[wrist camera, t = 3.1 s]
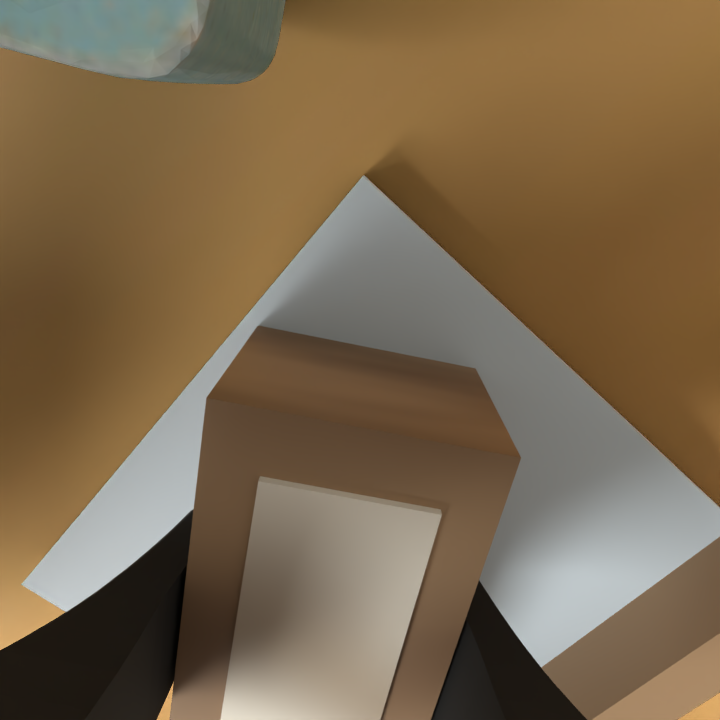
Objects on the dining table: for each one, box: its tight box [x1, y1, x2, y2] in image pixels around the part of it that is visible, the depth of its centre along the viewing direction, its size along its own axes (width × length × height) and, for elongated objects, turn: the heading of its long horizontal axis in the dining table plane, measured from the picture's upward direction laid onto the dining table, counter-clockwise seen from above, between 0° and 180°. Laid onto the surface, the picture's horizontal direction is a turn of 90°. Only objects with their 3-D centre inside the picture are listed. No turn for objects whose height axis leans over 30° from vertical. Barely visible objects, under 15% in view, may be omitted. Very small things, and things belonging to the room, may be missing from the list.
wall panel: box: [21, 175, 720, 720], centre depth 13 cm, size 14×14×4 cm
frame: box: [170, 325, 521, 720], centre depth 12 cm, size 10×5×4 cm, turn 169°
